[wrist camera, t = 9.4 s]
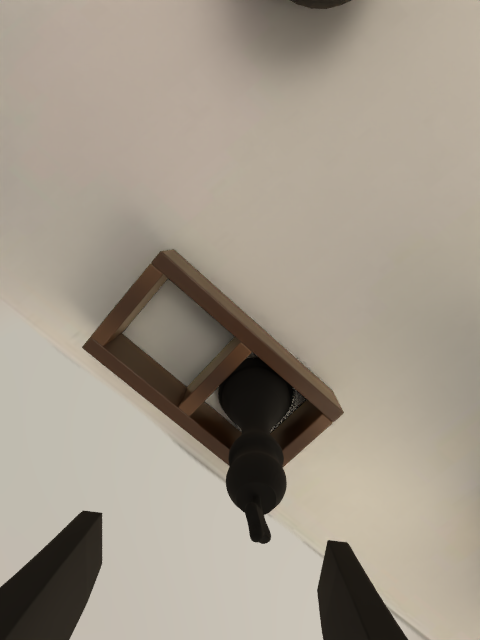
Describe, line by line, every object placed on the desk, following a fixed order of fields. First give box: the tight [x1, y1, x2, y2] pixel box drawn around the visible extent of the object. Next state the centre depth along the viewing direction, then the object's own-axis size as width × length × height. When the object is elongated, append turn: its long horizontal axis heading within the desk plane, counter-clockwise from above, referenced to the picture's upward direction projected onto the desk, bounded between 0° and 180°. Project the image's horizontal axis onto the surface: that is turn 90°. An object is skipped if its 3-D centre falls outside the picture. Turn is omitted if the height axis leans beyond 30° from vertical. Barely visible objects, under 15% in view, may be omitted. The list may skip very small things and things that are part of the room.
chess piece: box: [219, 358, 293, 544], centre depth 15 cm, size 4×4×10 cm
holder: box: [82, 250, 344, 468], centre depth 18 cm, size 7×12×2 cm, turn 48°
